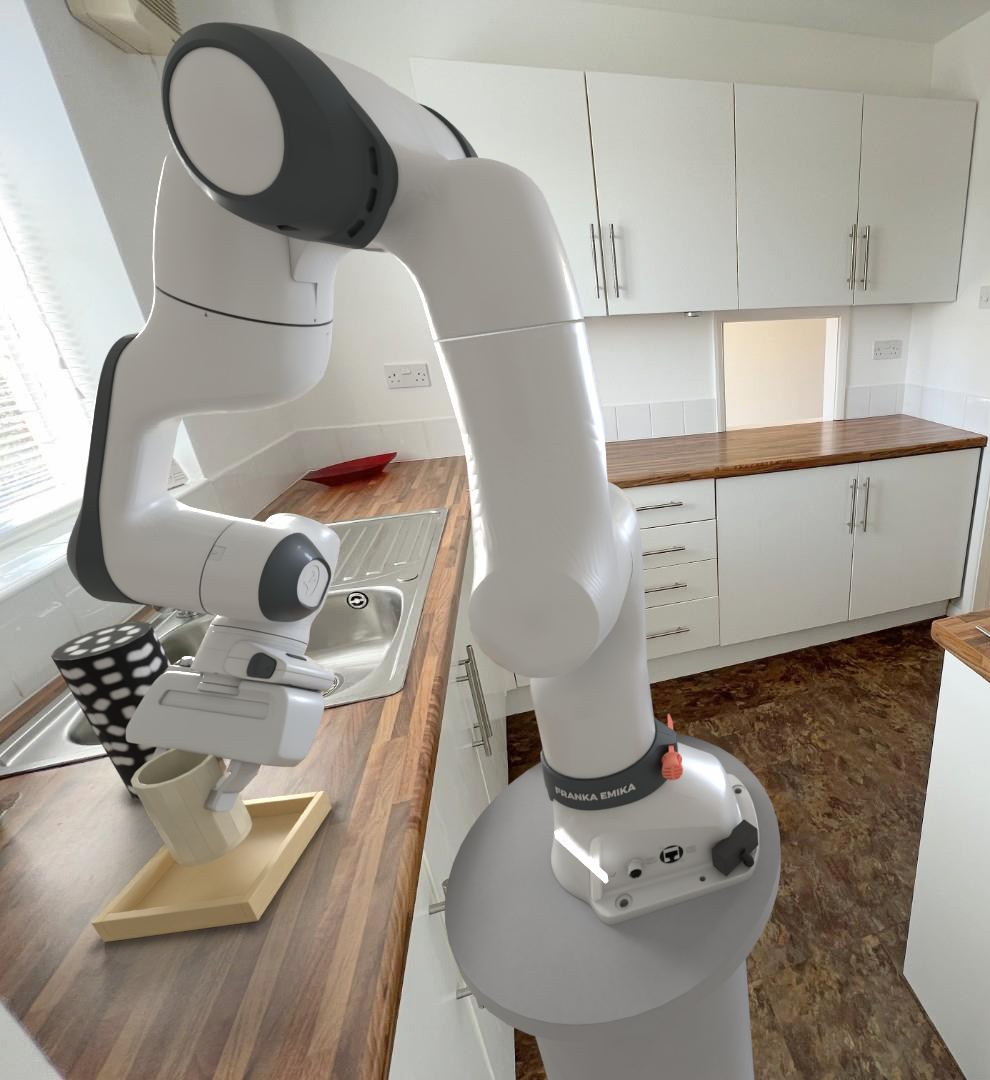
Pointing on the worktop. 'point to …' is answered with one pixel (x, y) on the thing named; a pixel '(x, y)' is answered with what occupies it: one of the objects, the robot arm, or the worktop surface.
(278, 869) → the tray
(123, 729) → the spotted tube
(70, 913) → the worktop surface
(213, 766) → the cup
